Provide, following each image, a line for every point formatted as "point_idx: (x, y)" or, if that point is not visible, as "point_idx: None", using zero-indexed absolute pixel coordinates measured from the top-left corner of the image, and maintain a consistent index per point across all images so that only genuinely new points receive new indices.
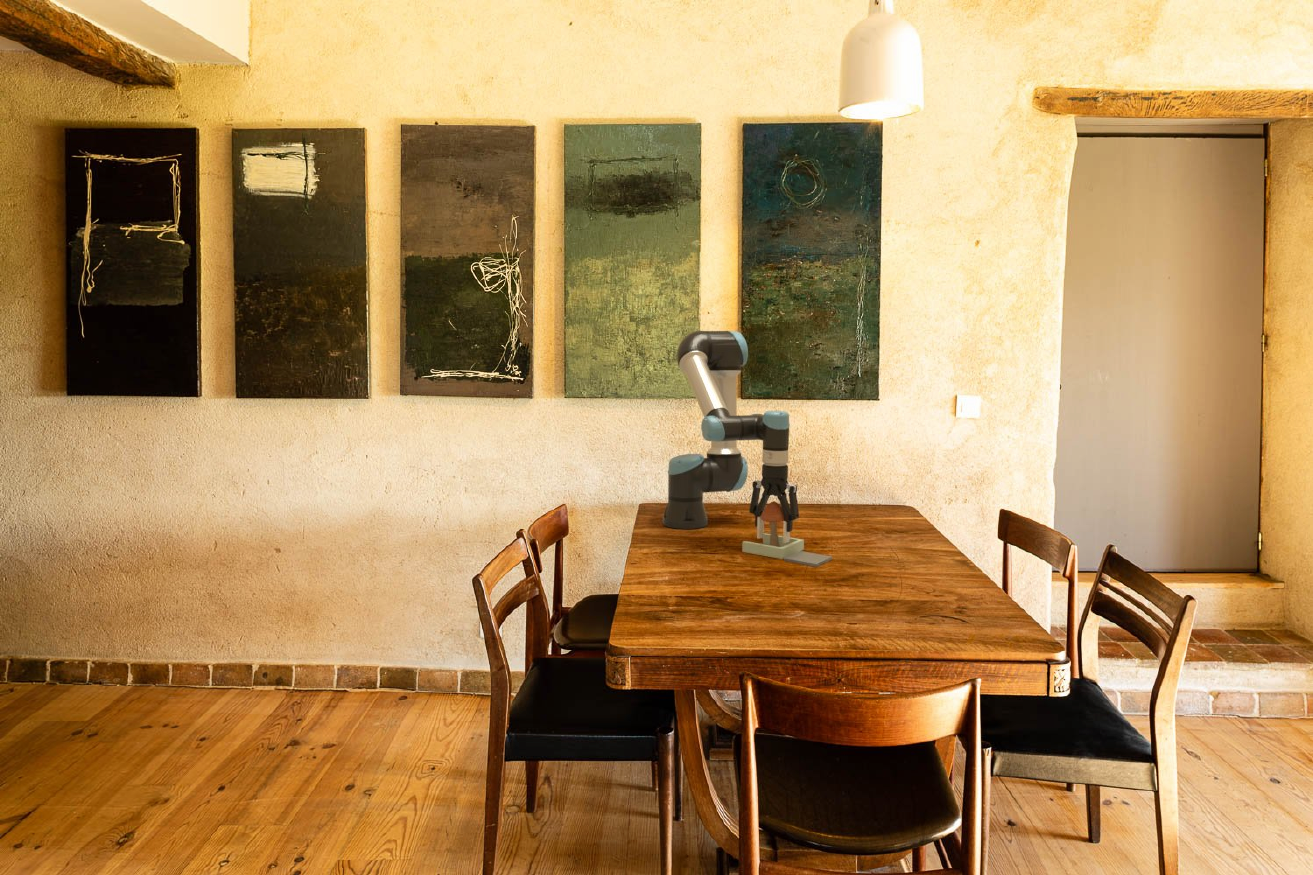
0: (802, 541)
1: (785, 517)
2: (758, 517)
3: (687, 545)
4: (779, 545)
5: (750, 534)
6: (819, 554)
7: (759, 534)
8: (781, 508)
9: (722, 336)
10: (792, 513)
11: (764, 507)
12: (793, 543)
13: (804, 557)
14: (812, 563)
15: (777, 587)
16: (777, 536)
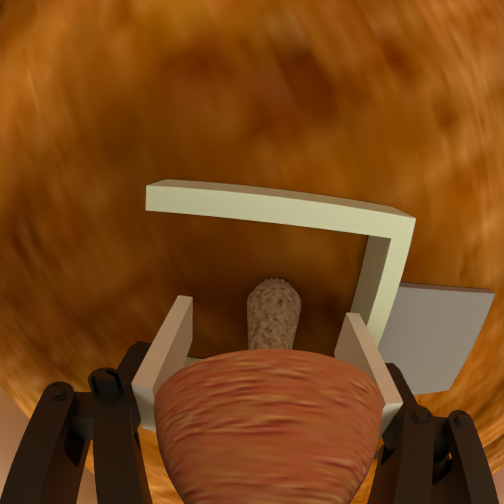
0: (408, 234)
1: (378, 462)
2: (150, 427)
3: (24, 353)
4: (300, 305)
5: (57, 82)
6: (464, 293)
7: (187, 352)
8: (349, 502)
9: None
10: (433, 480)
11: (136, 458)
12: (380, 320)
13: (418, 357)
14: (438, 391)
15: (364, 491)
16: (293, 338)
